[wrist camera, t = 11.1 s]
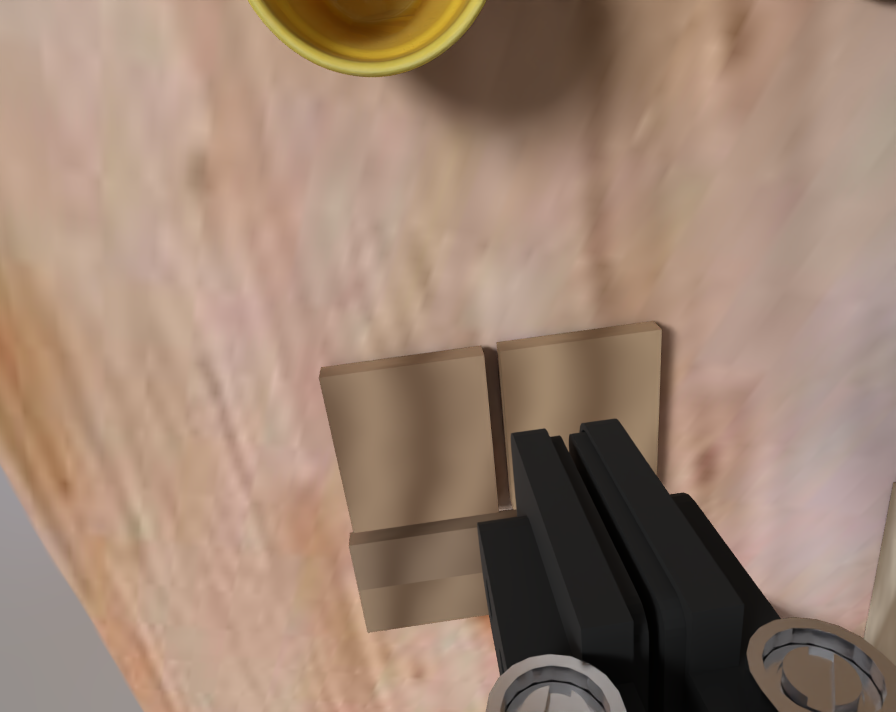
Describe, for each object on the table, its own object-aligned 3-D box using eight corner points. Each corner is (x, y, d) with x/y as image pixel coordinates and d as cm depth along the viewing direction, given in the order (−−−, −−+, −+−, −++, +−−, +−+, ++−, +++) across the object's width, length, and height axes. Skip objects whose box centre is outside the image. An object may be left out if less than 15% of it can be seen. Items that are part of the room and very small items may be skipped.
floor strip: (655, 488, 46) (663, 500, 45) (654, 575, 49) (661, 589, 48) (350, 532, 45) (348, 546, 44) (368, 618, 49) (367, 632, 47)
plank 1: (354, 519, 45) (353, 533, 44) (321, 367, 40) (319, 377, 38) (495, 499, 45) (498, 512, 44) (481, 345, 40) (484, 355, 39)
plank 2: (509, 497, 45) (513, 509, 44) (496, 342, 40) (499, 351, 39) (649, 477, 46) (656, 489, 44) (653, 321, 41) (661, 329, 39)
